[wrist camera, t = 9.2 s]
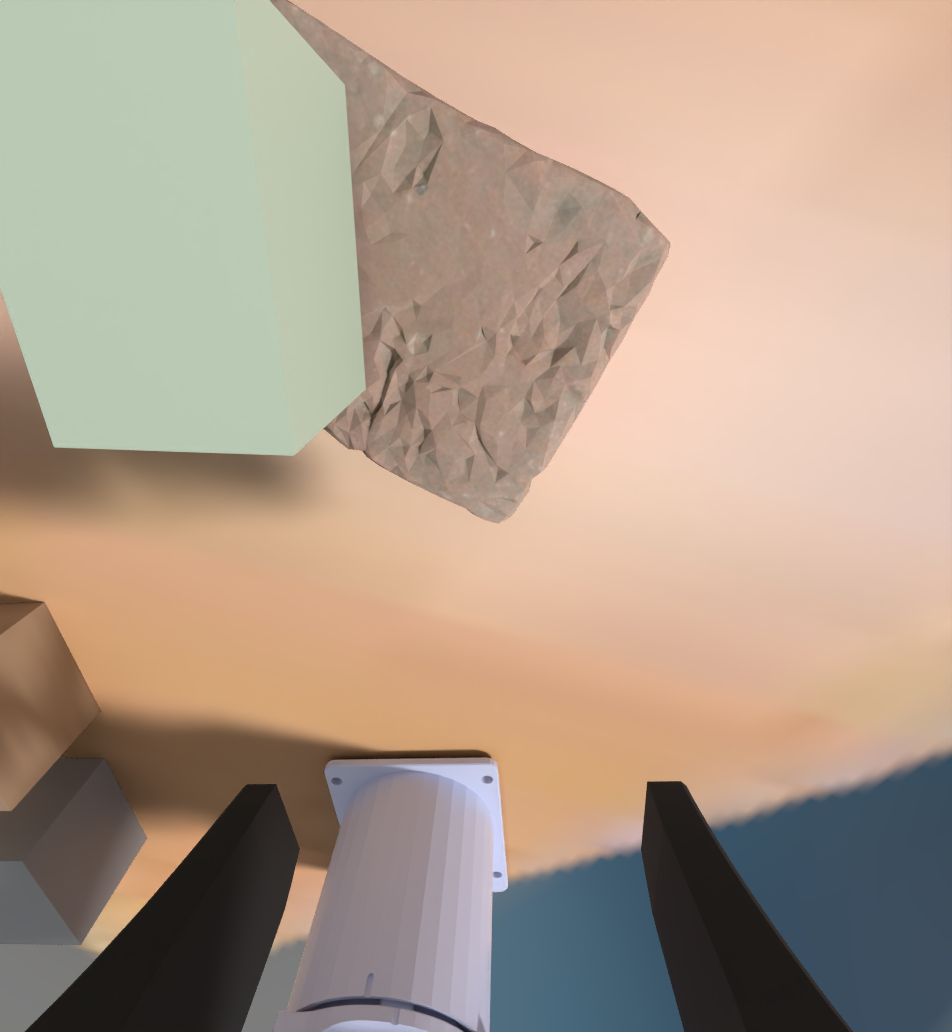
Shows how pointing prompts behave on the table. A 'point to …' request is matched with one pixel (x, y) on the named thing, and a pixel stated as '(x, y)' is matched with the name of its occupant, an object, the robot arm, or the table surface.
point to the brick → (474, 287)
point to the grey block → (64, 853)
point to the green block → (177, 225)
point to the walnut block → (36, 698)
